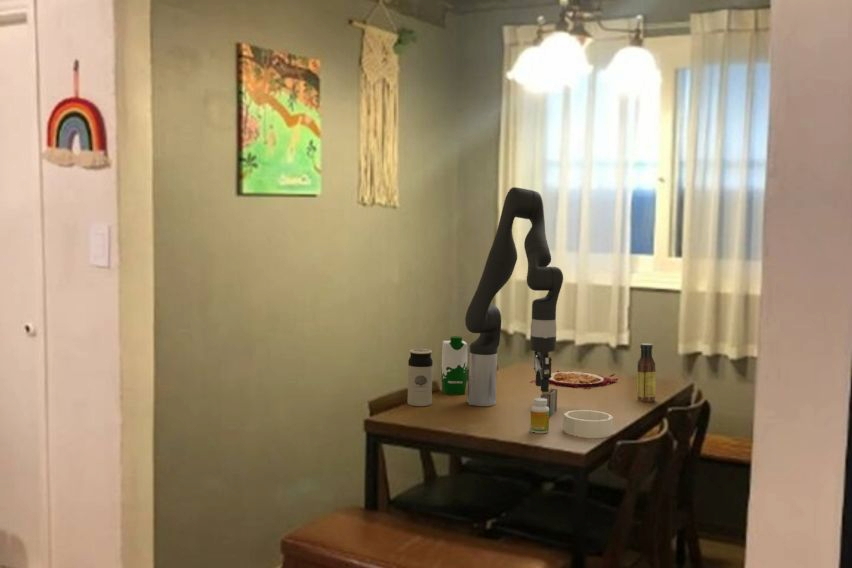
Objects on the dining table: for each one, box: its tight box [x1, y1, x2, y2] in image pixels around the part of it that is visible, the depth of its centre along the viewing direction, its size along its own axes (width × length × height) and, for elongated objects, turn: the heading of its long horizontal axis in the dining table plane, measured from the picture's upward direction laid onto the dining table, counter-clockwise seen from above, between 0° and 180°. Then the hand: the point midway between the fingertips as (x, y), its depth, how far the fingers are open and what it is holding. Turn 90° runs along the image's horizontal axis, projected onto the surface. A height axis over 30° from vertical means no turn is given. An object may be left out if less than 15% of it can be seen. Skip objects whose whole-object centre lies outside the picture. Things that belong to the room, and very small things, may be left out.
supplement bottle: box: [529, 397, 550, 434], centre depth 276 cm, size 5×5×10 cm
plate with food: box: [530, 370, 619, 390], centre depth 354 cm, size 24×26×3 cm
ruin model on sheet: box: [540, 387, 558, 418], centre depth 299 cm, size 11×3×10 cm, turn 158°
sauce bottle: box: [636, 342, 657, 403], centre depth 322 cm, size 6×6×20 cm
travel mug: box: [407, 348, 433, 407], centre depth 308 cm, size 8×8×18 cm
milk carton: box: [440, 336, 468, 395], centre depth 329 cm, size 9×9×20 cm
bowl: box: [562, 409, 614, 439], centre depth 277 cm, size 14×14×5 cm
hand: (541, 388), depth 275 cm, fingers open, 8 cm apart
